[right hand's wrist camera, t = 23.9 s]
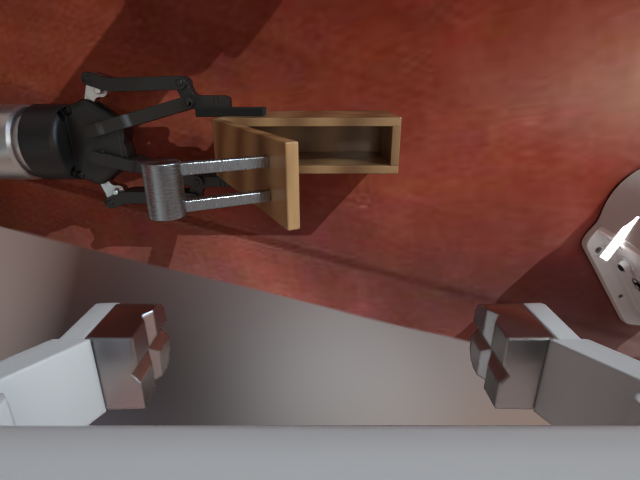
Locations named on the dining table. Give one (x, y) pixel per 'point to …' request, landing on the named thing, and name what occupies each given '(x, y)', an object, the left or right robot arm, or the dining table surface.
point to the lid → (230, 176)
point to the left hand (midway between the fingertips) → (265, 141)
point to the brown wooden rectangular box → (335, 139)
